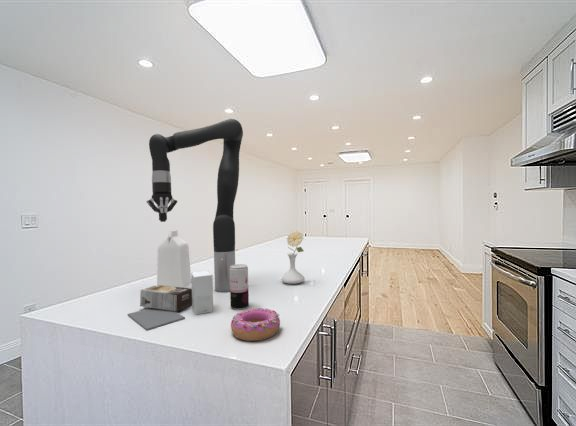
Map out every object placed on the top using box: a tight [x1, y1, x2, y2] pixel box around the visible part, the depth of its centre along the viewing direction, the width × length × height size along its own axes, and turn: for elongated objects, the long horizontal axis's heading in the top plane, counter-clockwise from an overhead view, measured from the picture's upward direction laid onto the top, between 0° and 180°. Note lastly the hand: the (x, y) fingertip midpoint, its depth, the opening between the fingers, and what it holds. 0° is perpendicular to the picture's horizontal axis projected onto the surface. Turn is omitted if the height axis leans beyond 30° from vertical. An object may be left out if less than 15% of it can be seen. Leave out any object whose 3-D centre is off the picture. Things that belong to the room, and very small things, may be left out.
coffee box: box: [139, 284, 192, 313], centre depth 105 cm, size 9×6×16 cm
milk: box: [156, 229, 192, 288], centre depth 135 cm, size 12×12×26 cm
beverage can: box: [229, 263, 250, 311], centre depth 103 cm, size 7×6×15 cm
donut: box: [230, 307, 281, 342], centre depth 83 cm, size 14×14×5 cm
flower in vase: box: [280, 230, 306, 285], centre depth 135 cm, size 13×11×25 cm
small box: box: [190, 270, 214, 315], centre depth 101 cm, size 8×6×13 cm
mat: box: [127, 307, 186, 331], centre depth 95 cm, size 18×12×1 cm, turn 46°
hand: (163, 221), depth 124 cm, fingers closed
